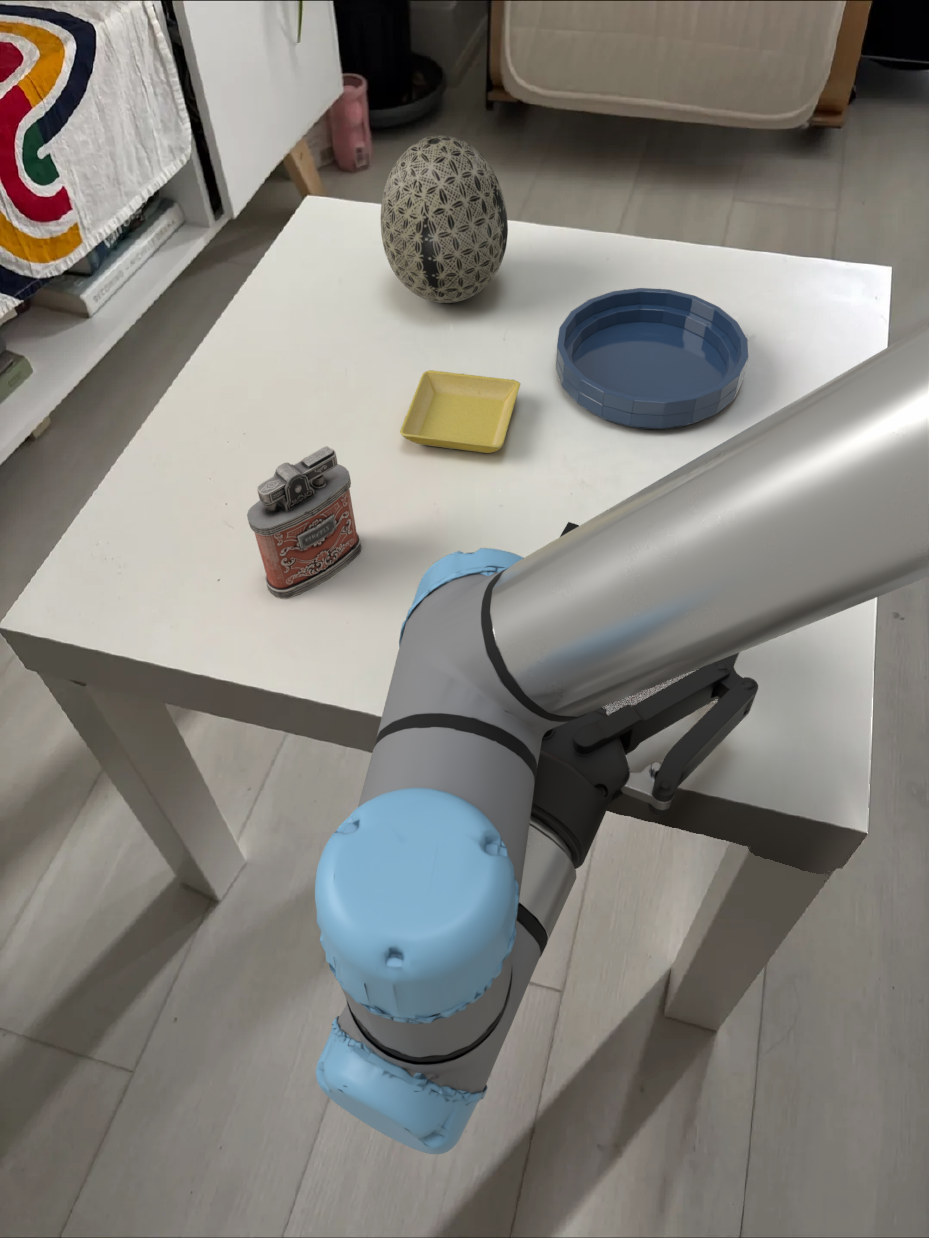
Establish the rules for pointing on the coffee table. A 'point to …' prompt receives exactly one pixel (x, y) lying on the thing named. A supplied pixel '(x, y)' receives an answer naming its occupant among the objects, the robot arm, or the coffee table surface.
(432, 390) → the saucer
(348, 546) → the lighter
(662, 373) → the dish
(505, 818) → the robot arm
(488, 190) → the decorative egg
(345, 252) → the coffee table surface
